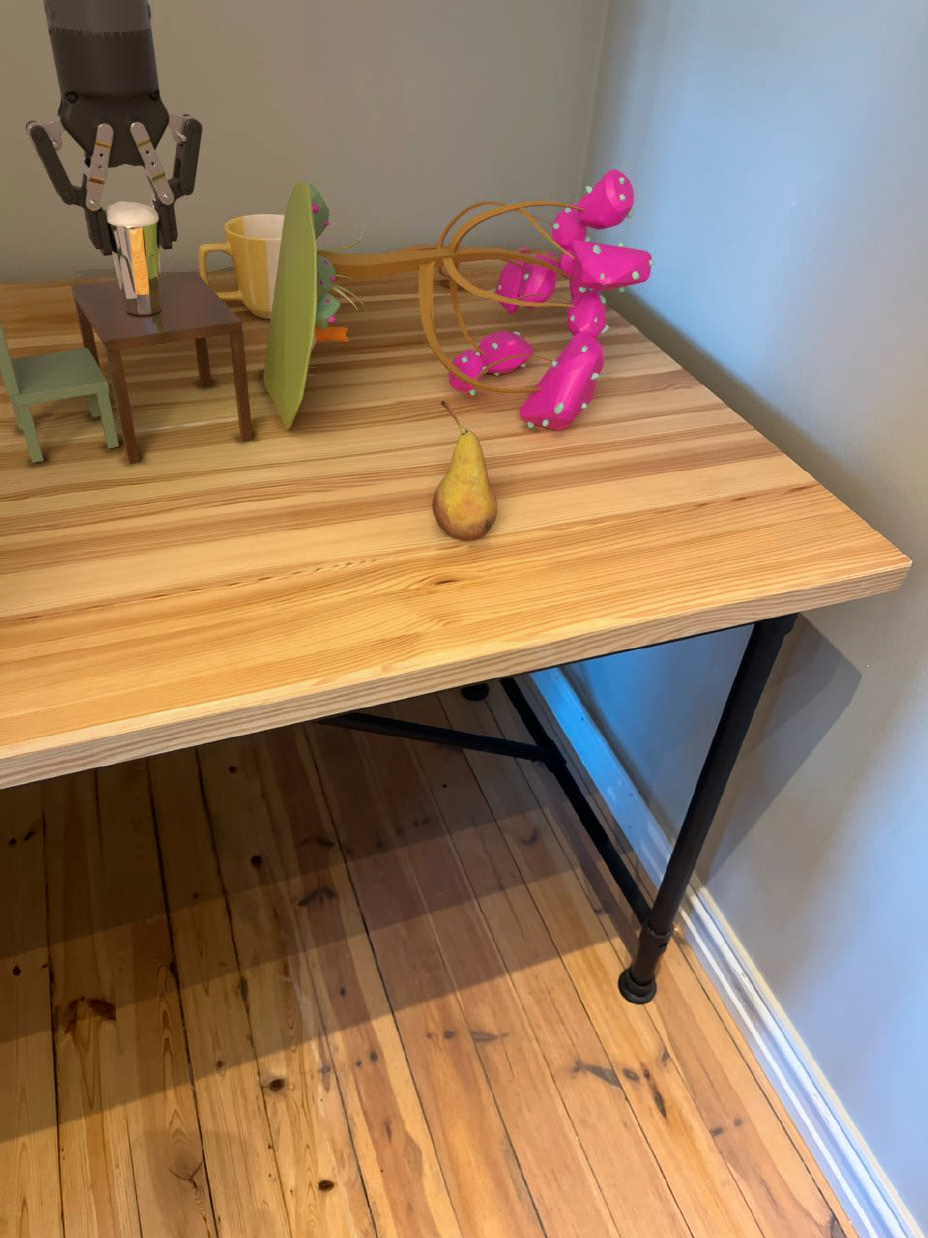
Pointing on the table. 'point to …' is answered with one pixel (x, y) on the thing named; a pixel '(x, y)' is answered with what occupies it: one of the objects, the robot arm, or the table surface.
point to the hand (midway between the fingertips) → (135, 248)
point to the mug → (250, 259)
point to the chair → (55, 388)
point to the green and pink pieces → (521, 282)
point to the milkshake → (136, 255)
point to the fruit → (465, 491)
